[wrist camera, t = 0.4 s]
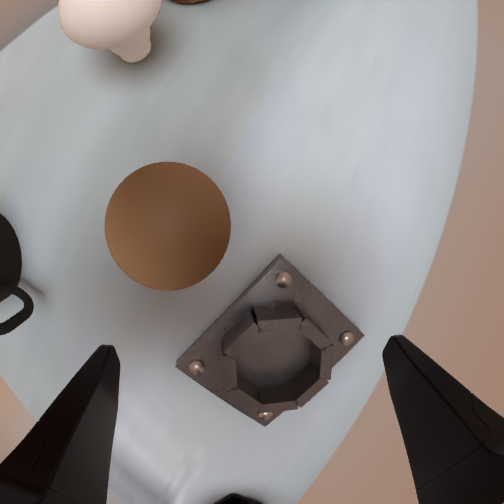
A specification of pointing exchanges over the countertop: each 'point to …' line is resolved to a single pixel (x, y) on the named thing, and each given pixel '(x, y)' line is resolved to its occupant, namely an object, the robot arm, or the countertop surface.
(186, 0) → the sauce bottle
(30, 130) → the countertop surface
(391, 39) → the countertop surface
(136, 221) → the brown round cylinder
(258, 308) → the bracket
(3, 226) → the mug
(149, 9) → the lightbulb
